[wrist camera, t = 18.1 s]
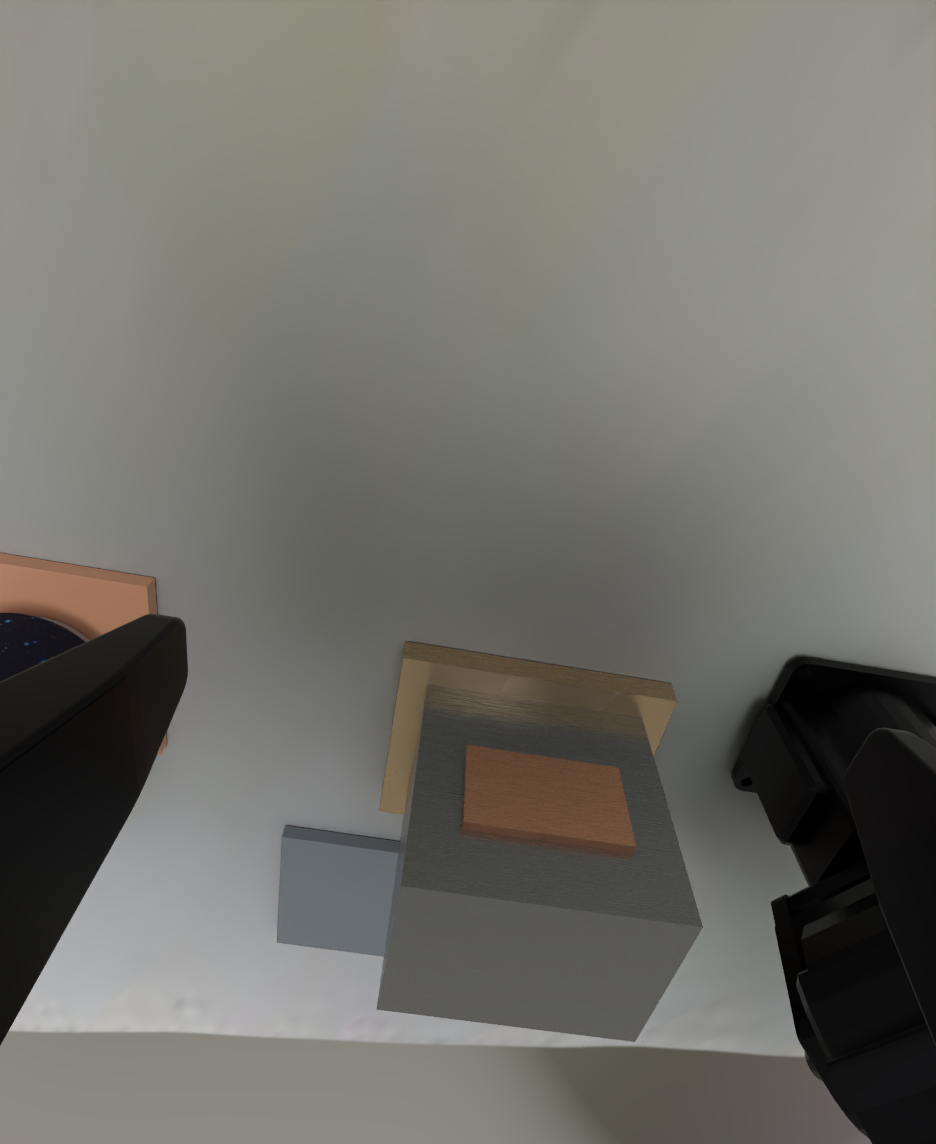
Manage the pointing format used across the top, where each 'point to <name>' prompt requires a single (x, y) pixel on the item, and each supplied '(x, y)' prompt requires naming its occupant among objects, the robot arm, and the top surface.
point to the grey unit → (531, 846)
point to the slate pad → (335, 890)
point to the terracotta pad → (75, 595)
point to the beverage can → (32, 641)
